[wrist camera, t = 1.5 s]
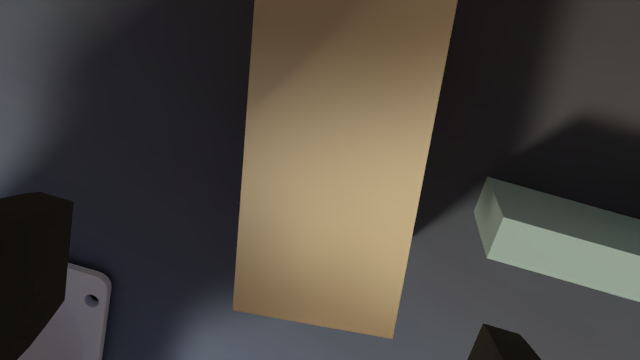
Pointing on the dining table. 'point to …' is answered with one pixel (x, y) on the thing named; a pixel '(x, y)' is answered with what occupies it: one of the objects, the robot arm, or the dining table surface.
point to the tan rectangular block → (336, 156)
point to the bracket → (560, 238)
